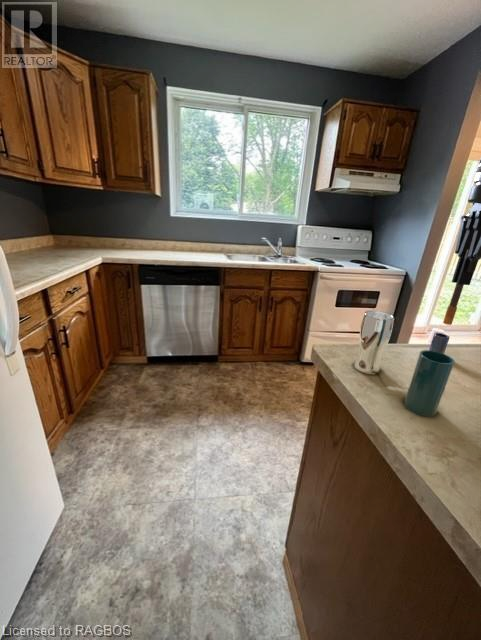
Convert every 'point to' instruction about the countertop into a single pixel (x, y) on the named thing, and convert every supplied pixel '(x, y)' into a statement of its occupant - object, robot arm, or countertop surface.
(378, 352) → the beer glass
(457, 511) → the countertop surface
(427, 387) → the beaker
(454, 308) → the brown stick
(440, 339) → the grey cylinder
